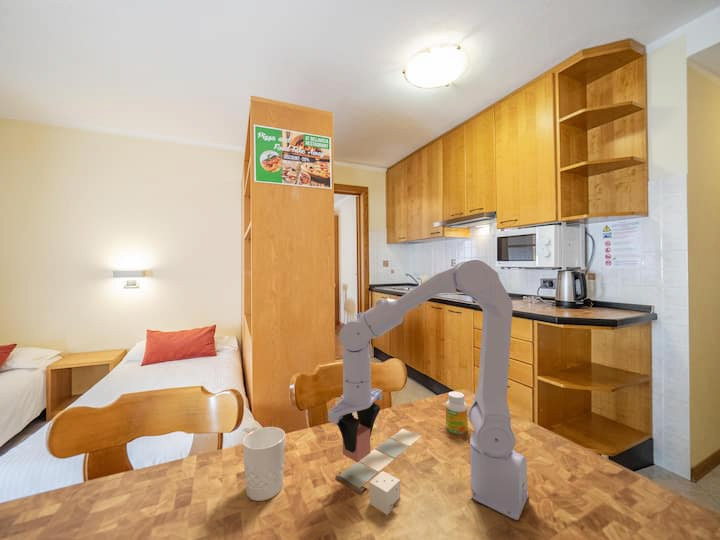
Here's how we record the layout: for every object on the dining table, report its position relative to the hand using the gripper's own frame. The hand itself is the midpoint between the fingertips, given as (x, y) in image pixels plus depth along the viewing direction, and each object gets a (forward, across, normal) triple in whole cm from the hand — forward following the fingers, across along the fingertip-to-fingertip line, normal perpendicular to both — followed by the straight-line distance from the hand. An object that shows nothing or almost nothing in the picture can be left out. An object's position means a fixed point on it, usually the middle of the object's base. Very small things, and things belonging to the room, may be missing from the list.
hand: (357, 444), depth 61 cm
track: (+7, -9, 0) cm, 11 cm away
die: (+7, +2, +8) cm, 11 cm away
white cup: (+7, +14, -12) cm, 20 cm away
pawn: (+2, 0, 0) cm, 2 cm away
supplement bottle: (+7, -30, +8) cm, 32 cm away
